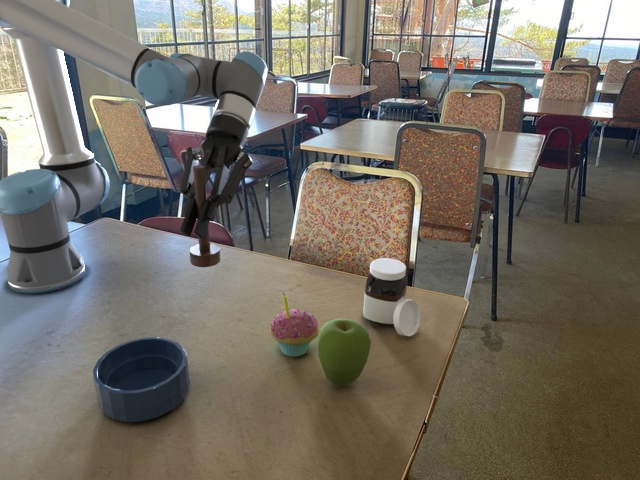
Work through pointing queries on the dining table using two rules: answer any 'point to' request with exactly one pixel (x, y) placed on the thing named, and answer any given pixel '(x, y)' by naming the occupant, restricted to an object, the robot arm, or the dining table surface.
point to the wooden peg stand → (204, 250)
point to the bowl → (141, 379)
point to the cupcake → (294, 330)
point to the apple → (343, 350)
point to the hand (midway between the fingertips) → (192, 234)
